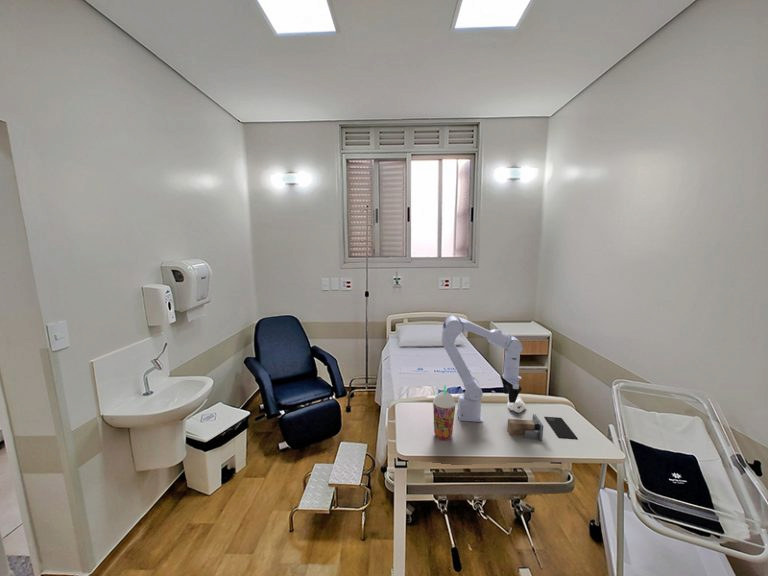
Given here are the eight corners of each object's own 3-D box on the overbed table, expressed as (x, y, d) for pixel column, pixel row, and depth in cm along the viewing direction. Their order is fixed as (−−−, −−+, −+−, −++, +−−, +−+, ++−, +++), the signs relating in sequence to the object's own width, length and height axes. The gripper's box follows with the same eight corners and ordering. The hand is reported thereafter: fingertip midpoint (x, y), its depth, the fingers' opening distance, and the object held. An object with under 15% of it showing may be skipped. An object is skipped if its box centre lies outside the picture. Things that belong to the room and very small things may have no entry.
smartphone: (579, 440, 118) (561, 418, 133) (579, 438, 118) (561, 416, 133) (558, 439, 119) (542, 417, 134) (558, 437, 119) (543, 415, 134)
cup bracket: (525, 439, 118) (526, 424, 117) (518, 427, 126) (519, 413, 125) (542, 440, 117) (543, 425, 117) (534, 428, 125) (535, 414, 124)
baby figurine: (517, 417, 134) (506, 399, 136) (506, 413, 146) (495, 396, 147) (534, 406, 135) (522, 388, 137) (521, 403, 147) (510, 387, 149)
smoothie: (428, 436, 119) (429, 386, 117) (438, 426, 126) (440, 379, 123) (448, 445, 114) (450, 393, 112) (458, 434, 121) (460, 385, 118)
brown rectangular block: (509, 435, 121) (510, 423, 120) (507, 430, 124) (507, 418, 123) (533, 436, 120) (534, 424, 119) (530, 432, 123) (531, 420, 122)
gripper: (527, 374, 121) (525, 407, 123) (516, 360, 136) (514, 390, 137) (508, 373, 122) (506, 406, 124) (499, 359, 136) (497, 389, 138)
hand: (509, 397), depth 131 cm, fingers open, 7 cm apart
